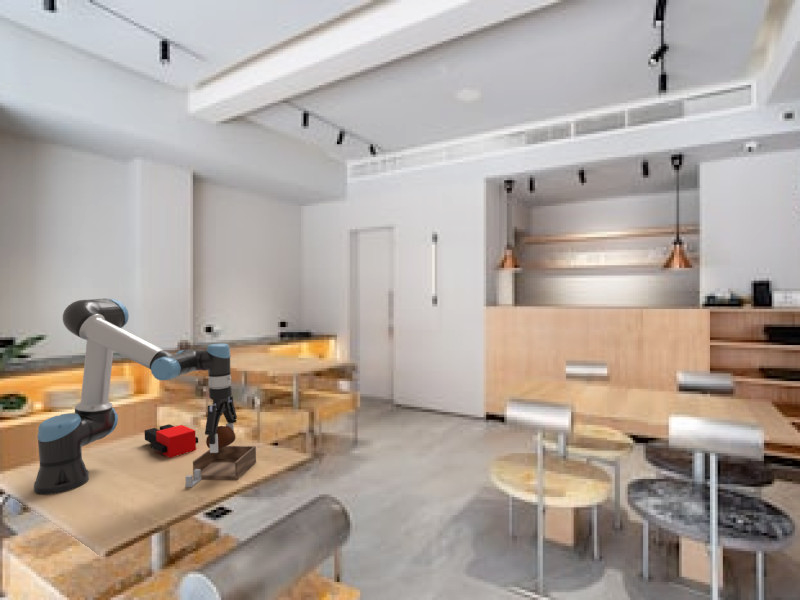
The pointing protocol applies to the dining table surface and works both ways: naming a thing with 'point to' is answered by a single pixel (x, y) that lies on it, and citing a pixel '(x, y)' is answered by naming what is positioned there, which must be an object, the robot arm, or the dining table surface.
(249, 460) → the holder
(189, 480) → the clip
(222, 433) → the potato
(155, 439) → the red-and-black block model
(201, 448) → the dining table surface
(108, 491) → the dining table surface
